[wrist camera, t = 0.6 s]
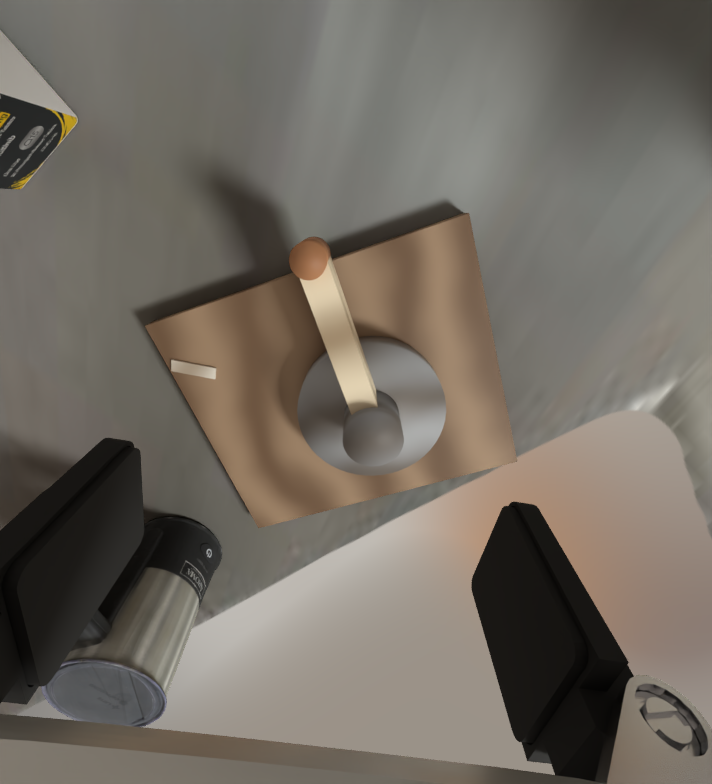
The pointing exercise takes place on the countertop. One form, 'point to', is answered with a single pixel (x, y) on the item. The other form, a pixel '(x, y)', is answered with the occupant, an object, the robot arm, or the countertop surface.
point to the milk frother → (139, 629)
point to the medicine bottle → (27, 118)
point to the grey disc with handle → (362, 383)
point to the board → (305, 345)
